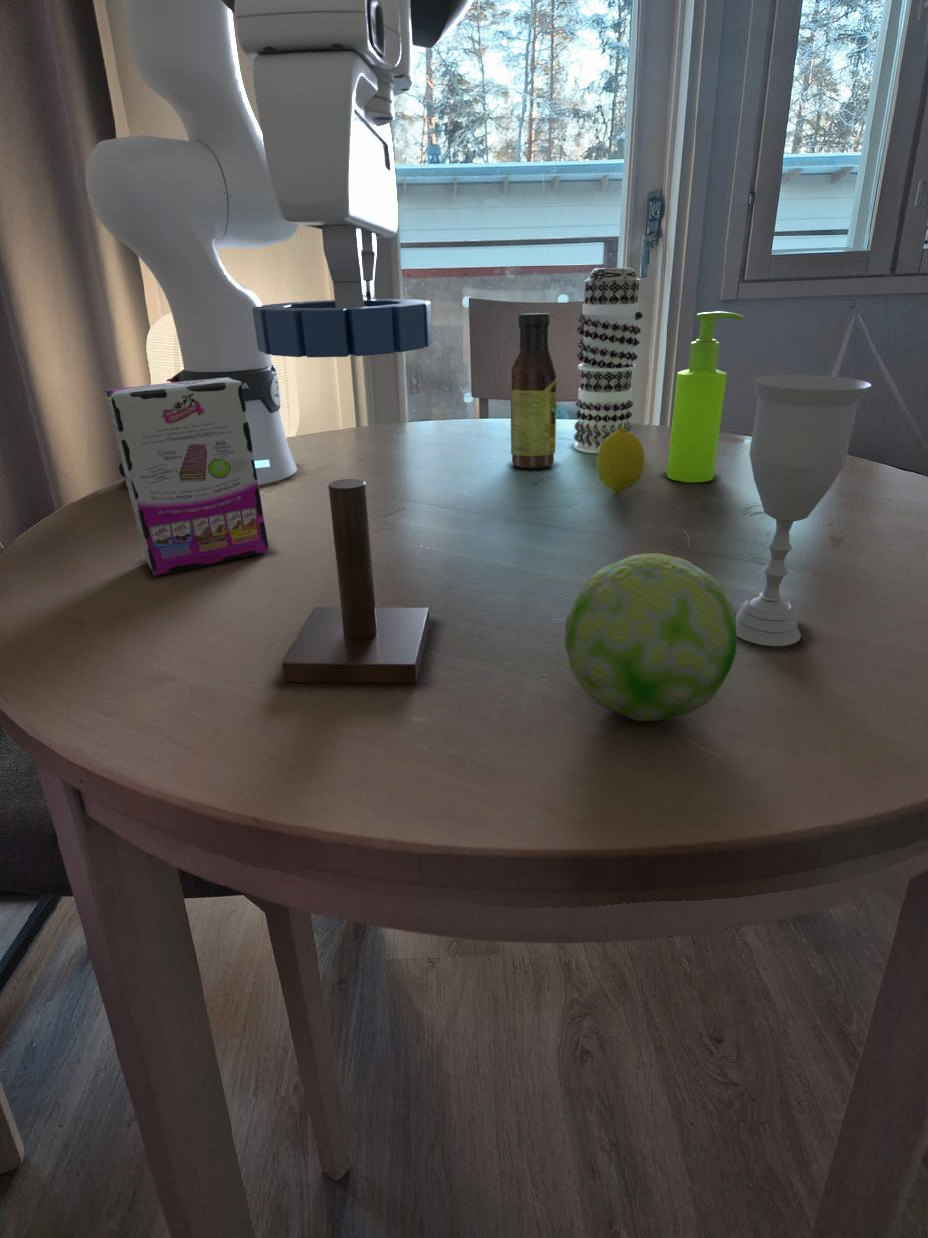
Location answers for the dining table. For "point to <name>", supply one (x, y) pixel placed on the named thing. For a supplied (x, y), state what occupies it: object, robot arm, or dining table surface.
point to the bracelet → (343, 328)
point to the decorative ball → (651, 637)
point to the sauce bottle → (533, 396)
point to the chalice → (793, 477)
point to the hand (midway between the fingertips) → (356, 311)
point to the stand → (356, 613)
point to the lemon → (620, 460)
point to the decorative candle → (606, 355)
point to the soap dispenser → (698, 407)
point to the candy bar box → (189, 471)
